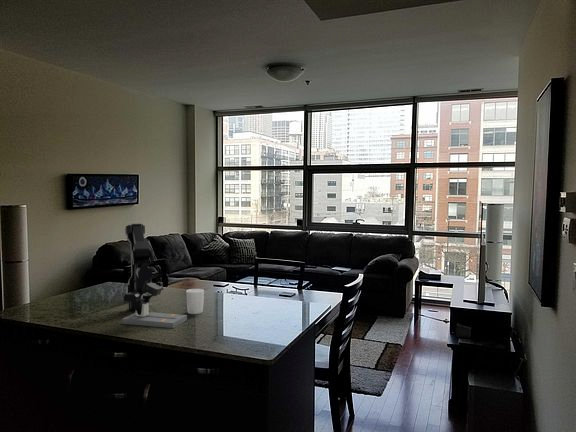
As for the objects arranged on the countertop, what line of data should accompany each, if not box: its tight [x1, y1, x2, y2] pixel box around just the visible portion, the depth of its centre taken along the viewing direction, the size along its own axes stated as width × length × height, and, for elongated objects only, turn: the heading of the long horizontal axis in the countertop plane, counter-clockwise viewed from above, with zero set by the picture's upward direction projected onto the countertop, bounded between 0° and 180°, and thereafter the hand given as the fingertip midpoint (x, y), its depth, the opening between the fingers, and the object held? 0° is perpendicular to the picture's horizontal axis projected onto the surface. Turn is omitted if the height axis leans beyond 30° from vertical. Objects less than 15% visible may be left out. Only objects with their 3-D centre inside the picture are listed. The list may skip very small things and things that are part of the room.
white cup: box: [185, 288, 205, 315], centre depth 197 cm, size 8×8×10 cm
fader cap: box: [135, 302, 150, 317], centre depth 183 cm, size 4×4×5 cm
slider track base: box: [121, 311, 188, 329], centre depth 182 cm, size 23×12×2 cm, turn 76°
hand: (142, 313), depth 183 cm, fingers closed on fader cap, 3 cm apart
